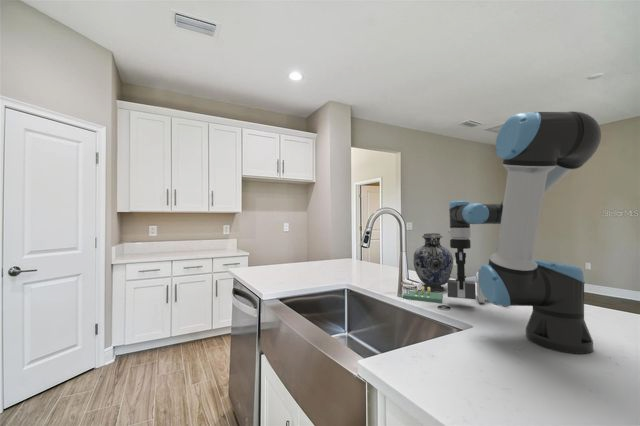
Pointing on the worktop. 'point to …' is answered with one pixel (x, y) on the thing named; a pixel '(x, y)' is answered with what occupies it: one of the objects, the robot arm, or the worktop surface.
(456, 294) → the plug housing
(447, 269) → the decorative vase
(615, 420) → the worktop surface
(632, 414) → the worktop surface
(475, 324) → the worktop surface
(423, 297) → the header board
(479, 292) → the cable organizer
